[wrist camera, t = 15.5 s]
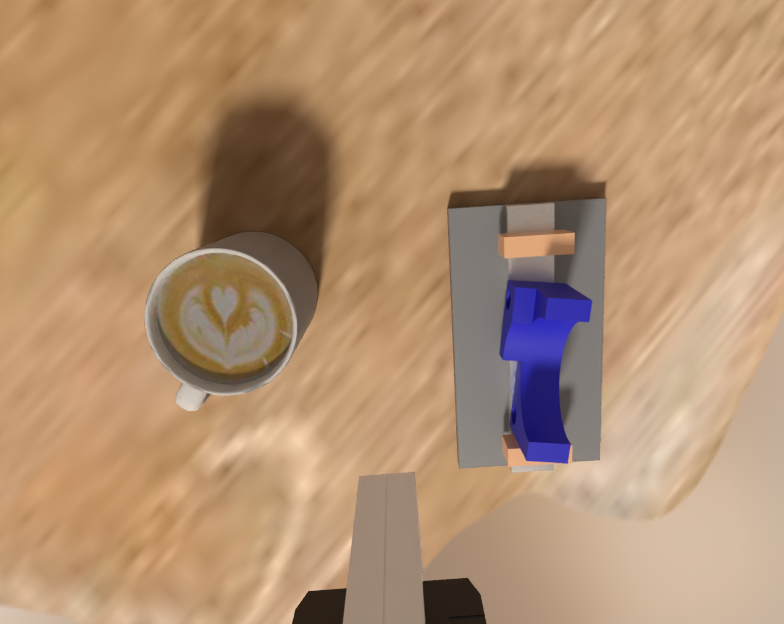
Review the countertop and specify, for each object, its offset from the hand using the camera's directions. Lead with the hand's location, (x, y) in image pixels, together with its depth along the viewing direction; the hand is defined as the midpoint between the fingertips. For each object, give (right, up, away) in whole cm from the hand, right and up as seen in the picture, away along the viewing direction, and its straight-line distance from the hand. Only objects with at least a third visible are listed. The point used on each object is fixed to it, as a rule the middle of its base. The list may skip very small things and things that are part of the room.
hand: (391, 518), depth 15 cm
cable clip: (+11, +2, +30) cm, 32 cm away
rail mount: (+11, +4, +32) cm, 34 cm away
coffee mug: (-12, +6, +31) cm, 34 cm away
